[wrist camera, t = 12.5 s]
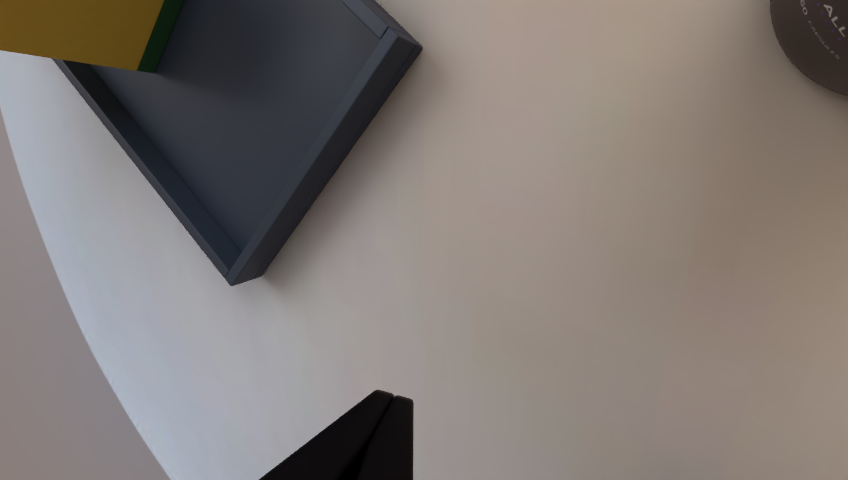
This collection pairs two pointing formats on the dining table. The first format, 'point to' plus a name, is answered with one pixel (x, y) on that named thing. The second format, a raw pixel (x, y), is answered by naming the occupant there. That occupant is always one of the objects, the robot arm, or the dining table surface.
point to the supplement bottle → (815, 38)
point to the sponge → (90, 30)
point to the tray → (250, 114)
